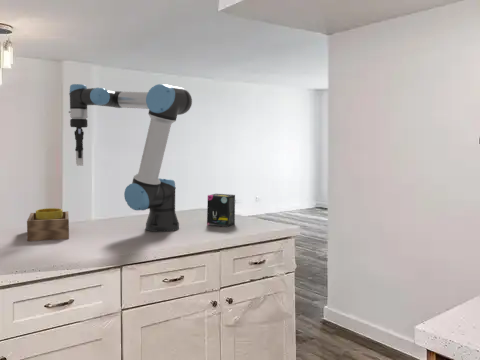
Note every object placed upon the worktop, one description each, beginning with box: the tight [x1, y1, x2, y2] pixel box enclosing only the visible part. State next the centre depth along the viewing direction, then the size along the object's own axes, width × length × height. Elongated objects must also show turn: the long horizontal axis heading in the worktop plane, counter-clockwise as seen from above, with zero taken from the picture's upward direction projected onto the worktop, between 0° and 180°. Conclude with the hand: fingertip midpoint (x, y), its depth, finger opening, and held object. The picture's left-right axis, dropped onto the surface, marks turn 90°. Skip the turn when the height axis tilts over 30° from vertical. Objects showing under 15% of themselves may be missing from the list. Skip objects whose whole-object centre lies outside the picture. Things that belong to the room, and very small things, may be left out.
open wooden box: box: [26, 210, 70, 242], centre depth 194 cm, size 15×22×8 cm
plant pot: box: [35, 207, 64, 220], centre depth 194 cm, size 10×10×10 cm
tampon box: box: [206, 193, 236, 228], centre depth 222 cm, size 11×9×15 cm
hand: (79, 164), depth 213 cm, fingers open, 13 cm apart
